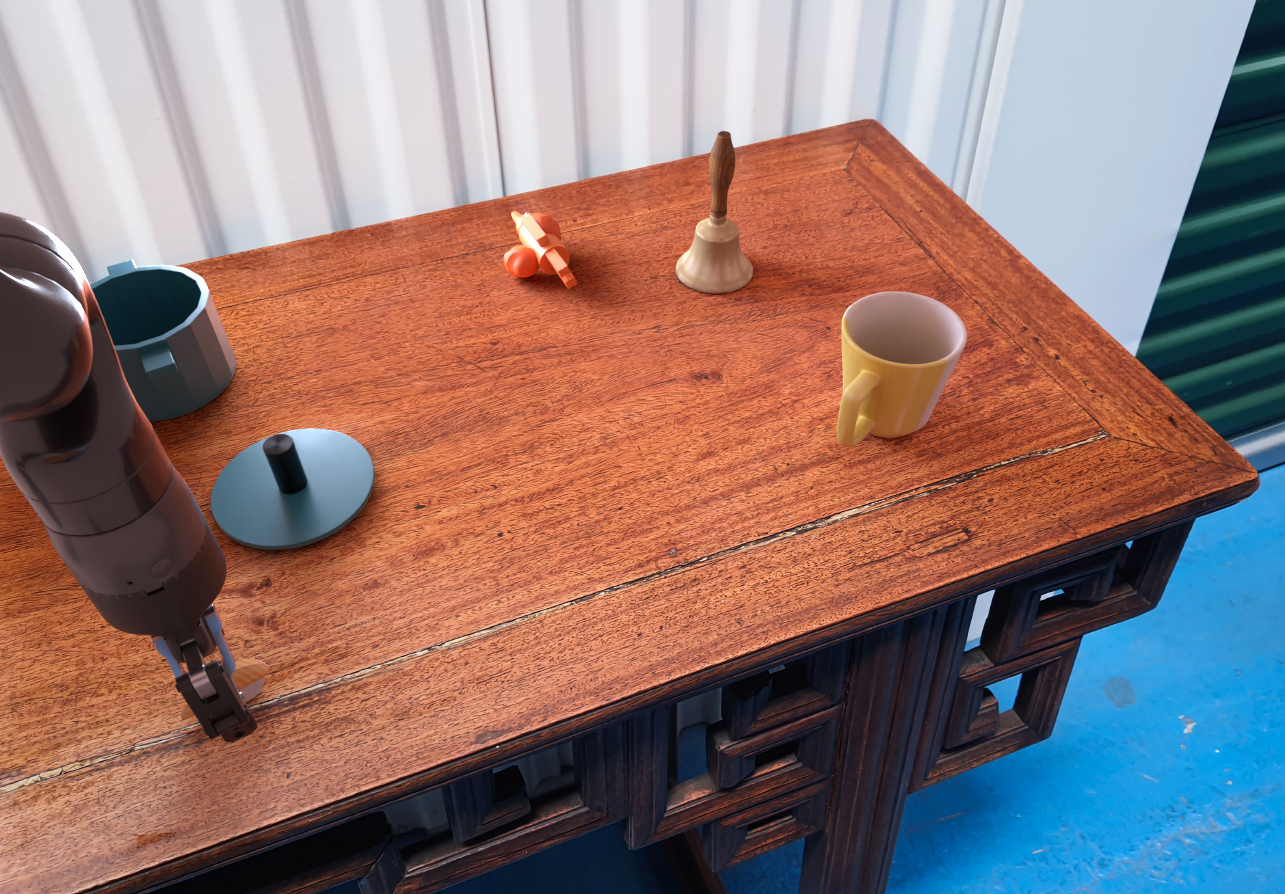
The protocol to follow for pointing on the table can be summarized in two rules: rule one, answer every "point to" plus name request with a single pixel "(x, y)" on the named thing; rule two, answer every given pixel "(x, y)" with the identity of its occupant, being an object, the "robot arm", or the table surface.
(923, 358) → the mug
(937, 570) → the table surface
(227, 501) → the lid
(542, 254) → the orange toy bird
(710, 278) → the hand bell
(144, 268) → the pot
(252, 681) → the sushi
